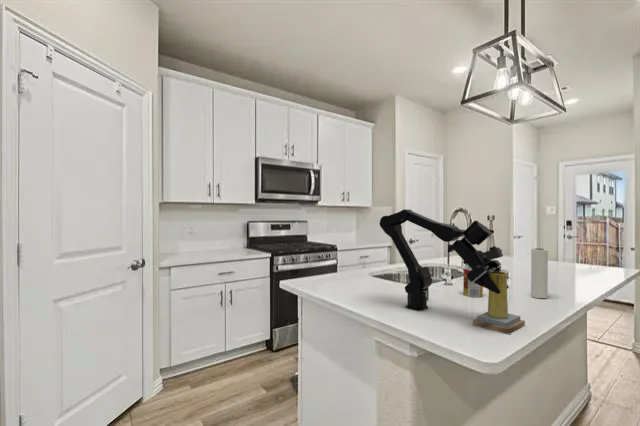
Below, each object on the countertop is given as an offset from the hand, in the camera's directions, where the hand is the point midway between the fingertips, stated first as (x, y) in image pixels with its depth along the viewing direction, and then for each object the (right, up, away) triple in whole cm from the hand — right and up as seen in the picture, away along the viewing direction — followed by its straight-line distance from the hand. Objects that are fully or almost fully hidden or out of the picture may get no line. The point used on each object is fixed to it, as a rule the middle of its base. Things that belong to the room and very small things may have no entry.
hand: (503, 290), depth 111 cm
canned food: (+9, -12, +41) cm, 44 cm away
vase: (-2, -9, +1) cm, 9 cm away
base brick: (-1, -12, +1) cm, 12 cm away
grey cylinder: (+37, -12, +38) cm, 54 cm away
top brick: (-1, -10, +1) cm, 10 cm away
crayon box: (-18, -12, +34) cm, 40 cm away
